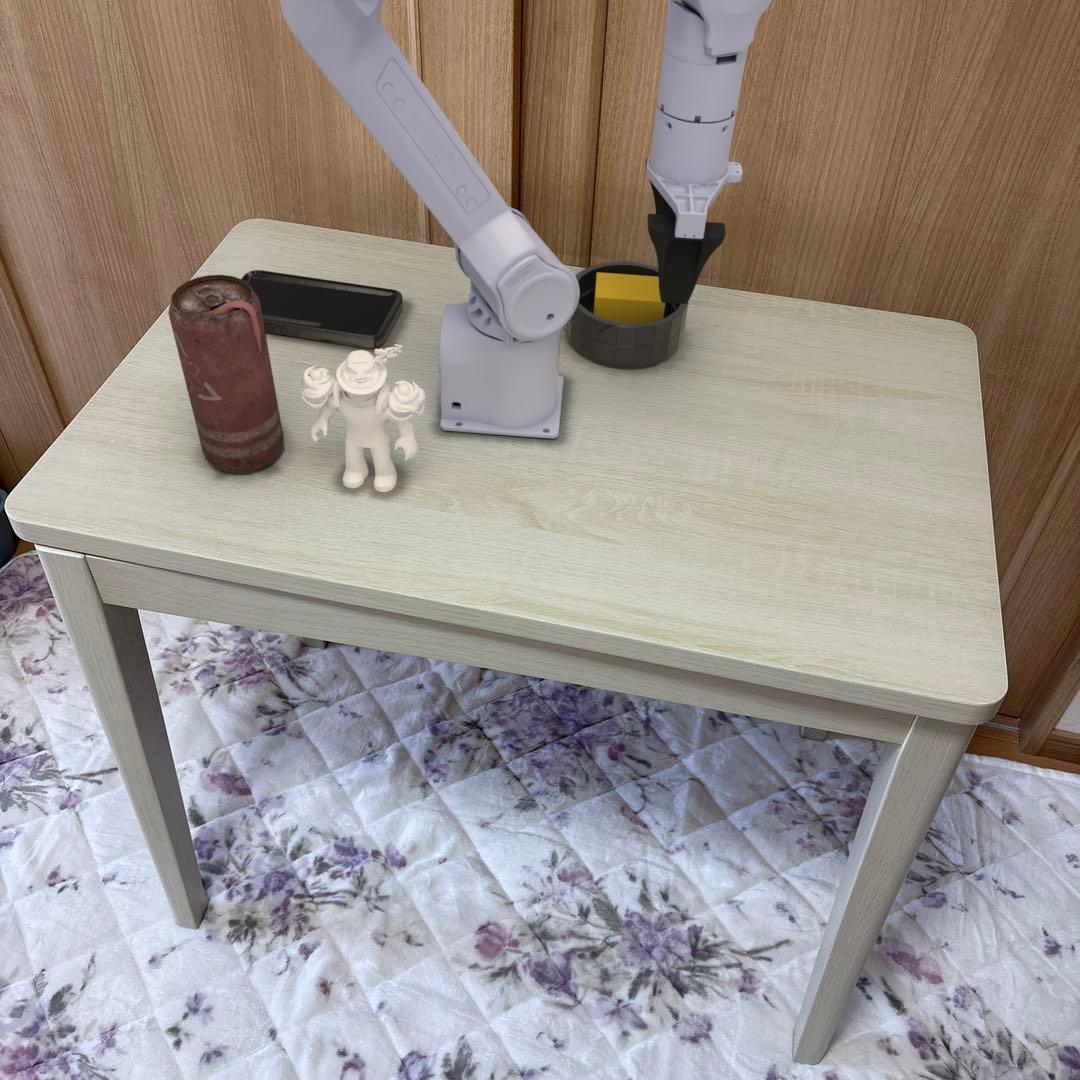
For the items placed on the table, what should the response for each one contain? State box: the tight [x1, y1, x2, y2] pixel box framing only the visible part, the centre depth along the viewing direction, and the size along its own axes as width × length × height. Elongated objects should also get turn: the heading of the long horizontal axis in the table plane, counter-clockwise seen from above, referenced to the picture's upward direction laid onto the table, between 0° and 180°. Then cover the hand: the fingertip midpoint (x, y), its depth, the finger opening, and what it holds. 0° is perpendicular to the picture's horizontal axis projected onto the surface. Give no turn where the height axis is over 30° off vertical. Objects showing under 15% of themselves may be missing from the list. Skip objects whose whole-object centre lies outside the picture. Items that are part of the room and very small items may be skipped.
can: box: [167, 274, 285, 475], centre depth 77 cm, size 6×6×14 cm
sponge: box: [593, 272, 665, 324], centre depth 93 cm, size 6×4×4 cm, turn 86°
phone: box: [241, 269, 404, 349], centre depth 95 cm, size 8×1×15 cm
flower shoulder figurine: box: [300, 343, 426, 493], centre depth 76 cm, size 9×4×12 cm, turn 79°
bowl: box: [565, 260, 689, 370], centre depth 93 cm, size 10×10×4 cm
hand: (672, 274), depth 85 cm, fingers open, 7 cm apart
